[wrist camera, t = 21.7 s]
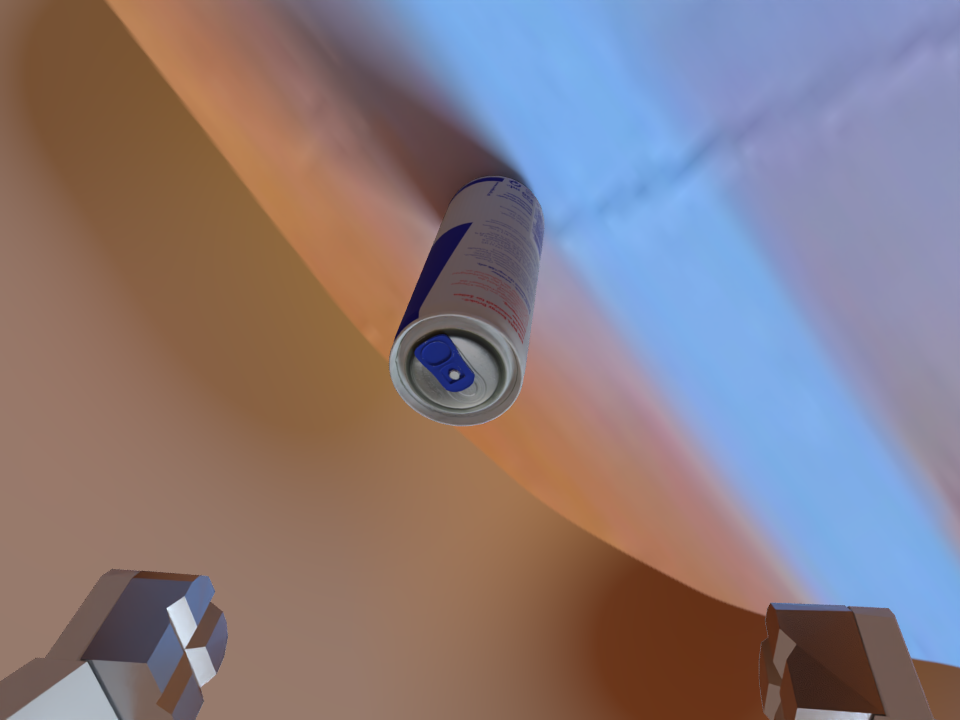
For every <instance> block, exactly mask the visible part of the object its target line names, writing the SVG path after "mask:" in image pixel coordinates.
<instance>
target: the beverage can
mask: <svg viewBox="0 0 960 720" xmlns="http://www.w3.org/2000/svg"><path fill="white" fill-rule="evenodd" d="M543 236H544V216H543V212H542V208H541V206H540V204H539V202H538V200H537V198H536V197H535V196H534V194H533V193H532V192H531V191H530V190H529V189H528V188H527V187H525V186H524V185H523V184H521V183H519V182H517V181H516V180H513V179H510V178H507V177H502V176H485V177H481V178H477V179H475V180H473V181H470V182H469V183H467V184H466V185H464V186H463V187H462V188H461V189H460V190H459V191H458V192H457V193H456V194H455V196H454V197H453V199H452V200H451V202H450V204H449V206H448V209H447V211H446V214H445V216H444V219H443V221H442V223H441V226H440V228H439V231H438V233H437V236H436V238H435V241H434V243H433V246H432V248H431V250H430V253H429V255H428V258H427V260H426V263H425V265H424V268H423V270H422V272H421V275H420V277H419V280H418V282H417V285H416V287H415V290H414V292H413V294H412V297H411V299H410V302H409V304H408V307H407V309H406V312H405V314H404V316H403V319H402V321H401V324H400V326H399V329H398V331H397V334H396V336H395V339H394V343H393V346H392V348H391V351H390V356H389V370H390V376H391V379H392V382H393V384H394V387H395V389H396V391H397V392H398V393H399V395H400V396H401V398H402V399H403V400H404V401H405V402H406V403H407V404H408V405H409V406H410V407H411V408H412V409H414V410H415V411H416V412H418V413H419V414H421V415H423V416H424V417H426V418H429V419H431V420H433V421H436V422H439V423H443V424H447V425H452V426H472V425H478V424H482V423H485V422H488V421H491V420H493V419H495V418H497V417H498V416H500V415H501V414H503V413H504V412H505V411H507V410H508V409H509V408H510V407H511V406H512V404H513V403H514V402H515V400H516V399H517V397H518V395H519V393H520V390H521V387H522V383H523V377H524V373H525V368H526V360H527V353H528V346H529V338H530V331H531V324H532V316H533V309H534V302H535V295H536V287H537V280H538V273H539V265H540V258H541V251H542V243H543Z"/></svg>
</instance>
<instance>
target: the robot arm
mask: <svg viewBox="0 0 960 720" xmlns="http://www.w3.org/2000/svg"><path fill="white" fill-rule="evenodd" d="M214 593H215V590H214V588H213V585H212V583H211V581H210V579H209V577H208V576H201V575H189V574H176V573H163V572H150V571H134V570H119V569H111V570H110V571H108V572H107V573H105V574H104V575H102V576H101V577H100V579H99V580H98V582H97V583H96V585H95V586H94V587H93V589H92V591H91V592H90V594H89V595H88V596H87V598H86V599H85V601H84V602H83V603H82V605H81V606H80V608H79V609H78V611H77V612H76V614H75V615H74V617H73V618H72V619H71V621H70V622H69V624H68V625H67V627H66V628H65V630H64V631H63V632H62V634H61V635H60V637H59V638H58V640H57V641H56V643H55V644H54V646H53V647H52V648H51V650H50V651H49V653H48V654H47V656H46V657H45V658H35V659H33V660H32V661H30V662H29V663H27V664H26V665H24V666H23V667H21V668H19V669H18V670H16V671H15V672H13V673H12V674H10V675H9V676H8V677H6V678H4V679H3V680H2V681H0V720H195V719H196V717H197V715H198V713H199V711H200V709H201V706H202V704H203V702H204V700H203V695H202V691H201V686H202V685H204V684H205V683H206V682H207V681H209V680H210V679H211V678H213V677H214V676H215V675H216V674H217V672H218V670H219V667H220V665H221V663H222V661H223V658H224V655H225V650H226V644H227V639H228V633H227V622H226V620H225V617H224V614H223V611H221V610H220V609H219V608H218V607H216V606H215V605H214V604H213V603H211V602H210V601H211V599H212V597H213V595H214ZM765 623H766V628H767V633H768V638H767V639H766V640H764V641H763V642H761V649H760V657H759V683H760V692H761V699H762V705H763V711H764V713H765V715H766V716H767V717H768V718H769V719H770V720H934V718H933V715H932V713H931V710H930V707H929V704H928V702H927V699H926V697H925V694H924V691H923V689H922V686H921V683H920V681H919V678H918V676H917V673H916V670H915V668H914V665H913V662H912V660H911V657H910V654H909V652H908V649H907V646H906V644H905V641H904V638H903V636H902V633H901V631H900V628H899V625H898V623H897V620H896V617H895V615H894V614H893V613H892V612H891V611H890V609H889V608H873V607H853V606H849V607H846V606H845V605H818V604H792V603H770V605H769V606H768V608H767V613H766V619H765Z"/></svg>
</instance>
